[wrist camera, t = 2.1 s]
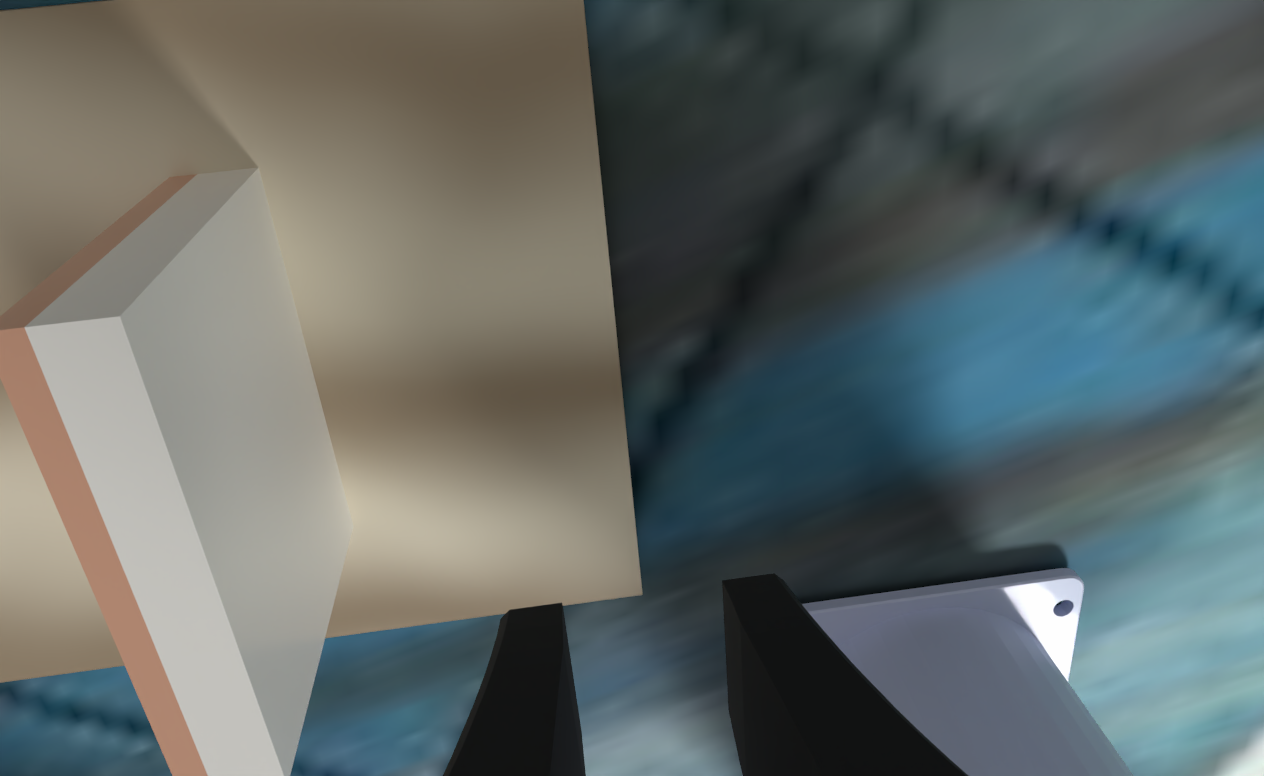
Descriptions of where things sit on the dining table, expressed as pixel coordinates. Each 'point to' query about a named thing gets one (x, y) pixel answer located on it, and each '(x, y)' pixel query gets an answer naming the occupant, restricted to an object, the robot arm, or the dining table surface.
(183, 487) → the tile
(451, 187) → the mat
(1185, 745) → the dining table surface
